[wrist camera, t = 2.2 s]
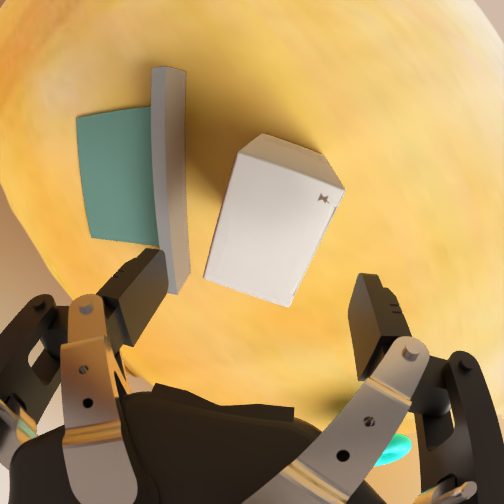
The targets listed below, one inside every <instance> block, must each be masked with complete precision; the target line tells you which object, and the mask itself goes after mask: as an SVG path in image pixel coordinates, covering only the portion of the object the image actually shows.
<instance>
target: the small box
mask: <svg viewBox="0 0 504 504" xmlns="http://www.w3.org/2000/svg"><path fill="white" fill-rule="evenodd" d="M344 194H345V188H344V186H343V185H342V183H341V181H340V180H339V178H338V177H337V175H336V173H335V172H334V170H333V169H332V167H331V165H330V164H329V162H328V161H327V159H326V157H325V156H324V155H323V154H320V153H317V152H315V151H312V150H310V149H307V148H304V147H302V146H299V145H296V144H294V143H291V142H288V141H285V140H282V139H280V138H277V137H274V136H271V135H268V134H265V133H261V134H260V135H259V136H258V137H256V138H255V139H254V140H252V141H251V142H250V143H248V144H247V145H246V146H244V147H243V148H242V149H241V150H239V151H238V152H237V153H236V157H235V160H234V164H233V167H232V171H231V174H230V178H229V181H228V184H227V188H226V191H225V195H224V198H223V202H222V206H221V209H220V213H219V217H218V220H217V224H216V228H215V232H214V235H213V239H212V243H211V247H210V251H209V255H208V259H207V263H206V267H205V271H204V275H203V278H204V279H207V280H209V281H212V282H214V283H217V284H220V285H223V286H225V287H228V288H231V289H234V290H237V291H240V292H242V293H245V294H248V295H251V296H254V297H257V298H260V299H263V300H266V301H269V302H272V303H275V304H278V305H281V306H284V307H290V305H291V303H292V300H293V298H294V296H295V293H296V291H297V289H298V287H299V285H300V283H301V281H302V279H303V277H304V275H305V273H306V271H307V269H308V267H309V265H310V263H311V261H312V259H313V256H314V254H315V252H316V250H317V248H318V246H319V244H320V242H321V240H322V238H323V236H324V234H325V232H326V229H327V227H328V225H329V223H330V221H331V219H332V217H333V215H334V213H335V211H336V209H337V208H338V206H339V204H340V202H341V200H342V198H343V196H344Z"/></svg>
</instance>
